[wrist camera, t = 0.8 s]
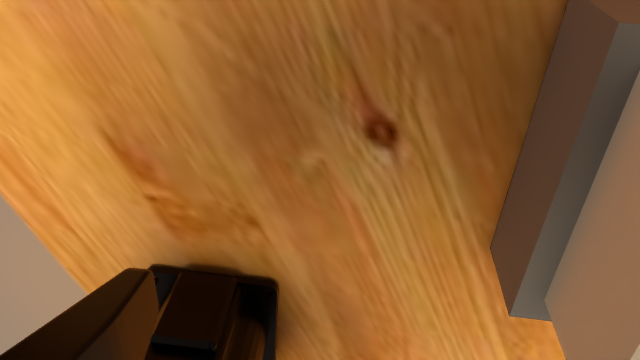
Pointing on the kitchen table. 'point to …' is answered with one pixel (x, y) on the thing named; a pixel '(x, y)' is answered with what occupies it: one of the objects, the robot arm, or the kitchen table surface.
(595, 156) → the stand
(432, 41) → the kitchen table surface
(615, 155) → the carton
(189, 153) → the kitchen table surface
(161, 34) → the kitchen table surface
